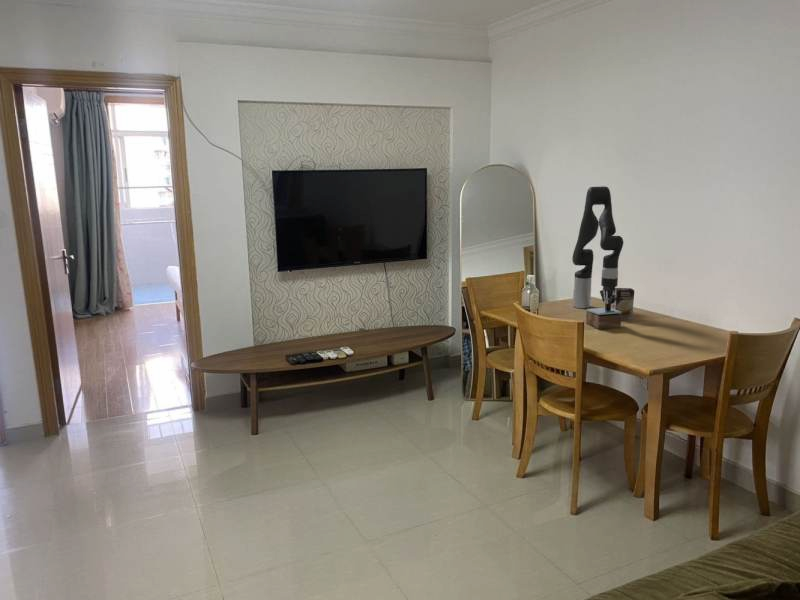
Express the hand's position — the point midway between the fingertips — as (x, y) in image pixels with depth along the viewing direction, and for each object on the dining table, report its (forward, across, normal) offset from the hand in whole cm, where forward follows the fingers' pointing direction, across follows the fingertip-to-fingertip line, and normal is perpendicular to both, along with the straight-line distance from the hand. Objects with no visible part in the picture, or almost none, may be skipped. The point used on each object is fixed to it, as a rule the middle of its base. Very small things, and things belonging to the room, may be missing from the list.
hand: (607, 311), depth 296 cm
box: (+9, -4, 0) cm, 9 cm away
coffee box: (+9, -14, +17) cm, 23 cm away
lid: (+1, -4, 0) cm, 4 cm away
